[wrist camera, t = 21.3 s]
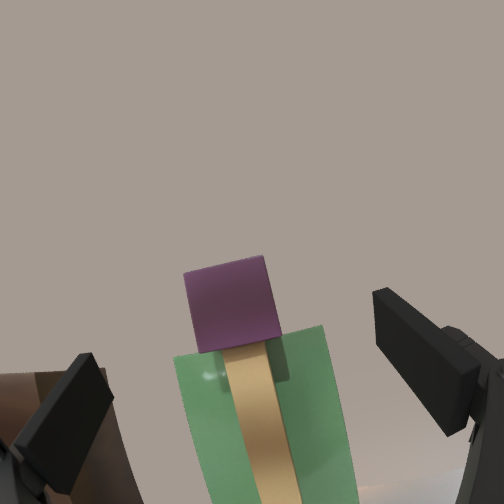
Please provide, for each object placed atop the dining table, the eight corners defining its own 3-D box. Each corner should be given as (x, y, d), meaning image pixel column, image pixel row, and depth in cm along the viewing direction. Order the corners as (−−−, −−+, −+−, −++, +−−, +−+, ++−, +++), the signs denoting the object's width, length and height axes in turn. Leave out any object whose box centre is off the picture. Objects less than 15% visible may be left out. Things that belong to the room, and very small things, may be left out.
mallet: (200, 284, 21) (182, 272, 17) (265, 269, 21) (263, 253, 17) (251, 489, 17) (245, 521, 13) (313, 477, 17) (321, 508, 13)
